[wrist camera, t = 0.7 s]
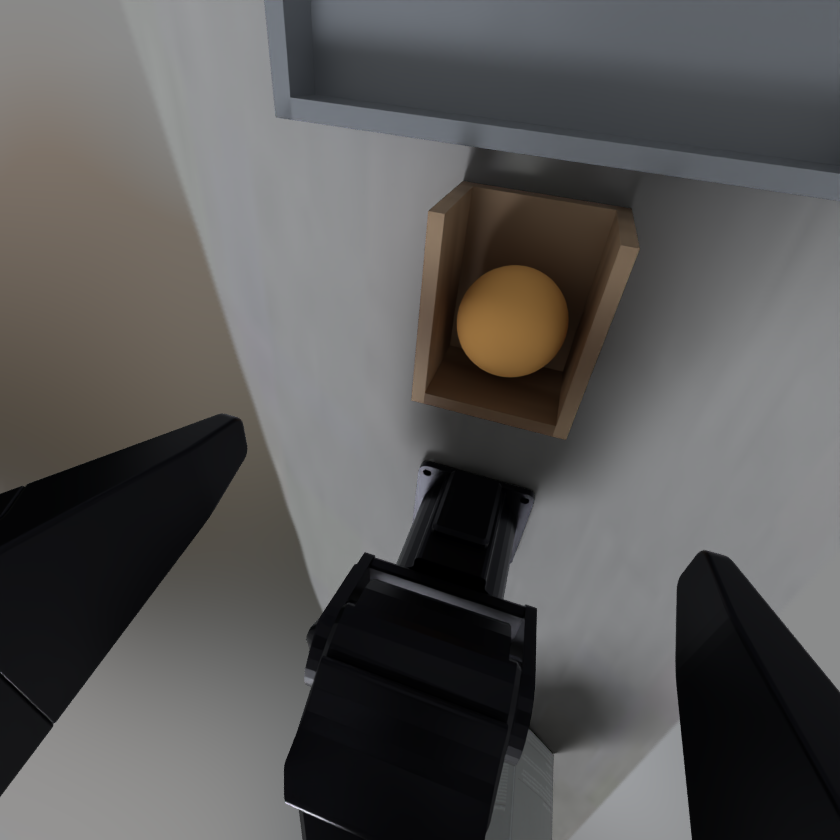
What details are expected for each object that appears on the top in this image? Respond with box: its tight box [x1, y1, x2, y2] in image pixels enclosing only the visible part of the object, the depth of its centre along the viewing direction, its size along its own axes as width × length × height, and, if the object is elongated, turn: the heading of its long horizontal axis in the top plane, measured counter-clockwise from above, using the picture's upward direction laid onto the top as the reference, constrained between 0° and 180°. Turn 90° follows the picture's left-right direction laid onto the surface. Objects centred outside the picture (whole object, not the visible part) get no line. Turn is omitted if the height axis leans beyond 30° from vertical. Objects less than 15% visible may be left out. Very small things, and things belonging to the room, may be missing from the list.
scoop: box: [411, 181, 640, 440], centre depth 17 cm, size 7×6×4 cm
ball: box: [457, 265, 569, 377], centre depth 17 cm, size 4×4×4 cm
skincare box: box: [485, 729, 554, 840], centre depth 39 cm, size 8×7×16 cm
